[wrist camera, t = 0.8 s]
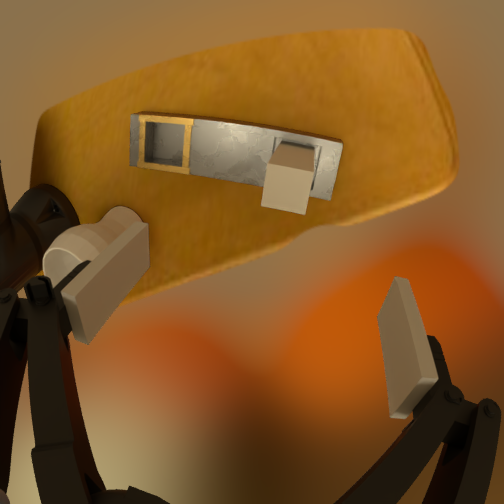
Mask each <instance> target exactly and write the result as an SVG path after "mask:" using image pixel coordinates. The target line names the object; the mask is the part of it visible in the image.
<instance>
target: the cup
mask: <svg viewBox="0 0 504 504" xmlns="http://www.w3.org/2000/svg"><path fill="white" fill-rule="evenodd" d="M136 221H138V222H142V220H141V218H140V217H139V216H138V215H137V214H136V213H135V212H134V211H133V210H131V209H129V208H127V207H123V206H117V207H114V208H112V209H111V210H110V211H109V212H108V213H107V214H106V215H105V216H104V217H103V218H102V219H101V221H99V222H97V223H96V224H82V225H78V226H75V227H72V228H69V229H67V230H66V231H64V232H63V233H62V234H60V235H59V236H58V237H57V238H56V239H55V240H54V241H53V243H52V244H51V245H50V247H49V248H48V250H47V251H46V252H45V254H44V257H43V271H44V275H45V276H47V277H49V278H50V279H51V282H52V286H53V288H54V287H55V286H56V285H57V284H58V283H59V282H60V281H61V280H62V279H63V278H64V277H65V276H67V274H69V273H70V272H72V270H73V269H74V268H75V267H76V266H77V265H78V264H80V263H82V262H84V261H86V260H90V261H92V260H94V259H95V258H96V257H97V256H98V255H99V254H100V253H101V252H102V251H103V250H104V249H105V248H107V247H108V246H109V245H110V244H111V243H112V242H113V241H114V240H115V239H116V238H118V237H119V236H120V235H121V234H122V233H123V232H124V231H125V230H127V229H128V228H129V227H130V226H131V225H132V224H133V223H135V222H136Z"/></svg>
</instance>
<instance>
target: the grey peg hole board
mask: <svg viewBox="0 0 504 504" xmlns="http://www.w3.org/2000/svg"><path fill="white" fill-rule="evenodd" d="M282 140H283V141H288V142H293V143H298V144H303V145H308V146H313V147H315V154H314V175H313V180H312V185H311V189H310V194H309V196H311V197H316V198H320V199H325V200H329V201H330V200H331V196H332V192H333V187H334V183H335V179H336V174H337V170H338V166H339V161H340V156H341V152H342V147H343V142H342V140H341V139H336V138H332V137H327V136H323V135H318V134H313V133H309V132H304V131H298V130H293V129H288V128H282V127H277V126H271V125H265V124H258V123H252V122H245V121H238V120H231V119H223V118H214V117H206V116H196V115H185V114H174V113H160V112H143V111H142V112H138V113H134V114H131V127H130V166H136V167H140V168H147V169H155V170H162V171H169V172H176V173H182V174H192V175H199V176H205V177H211V178H217V179H223V180H229V181H234V182H240V183H245V184H251V185H256V186H262V187H264V182H265V176H266V170H267V163H268V162H269V160H270V158H271V157H272V155H273V153H274V152H275V150H276V149H277V147H278V145H279V144H280V142H281V141H282Z"/></svg>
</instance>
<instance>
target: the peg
mask: <svg viewBox="0 0 504 504" xmlns="http://www.w3.org/2000/svg"><path fill="white" fill-rule="evenodd" d="M314 154H315V147H313V146H308V145H303V144H298V143H293V142H288V141H283V140H282V141H281V142H280V144H279V145H278V147H277V149H276V150H275V152H274V153H273V155H272V157H271V158H270V160H269V162H268V163H267V170H266V176H265V182H264V189H263V195H262V202H261V206H264V207H269V208H274V209H279V210H284V211H288V212H293V213H298V214H303V215H305V212H306V208H307V203H308V199H309V194H310V189H311V185H312V180H313V175H314Z"/></svg>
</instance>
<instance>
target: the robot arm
mask: <svg viewBox="0 0 504 504" xmlns="http://www.w3.org/2000/svg"><path fill="white" fill-rule="evenodd" d="M0 163H1V160H0ZM78 225H80V224H79V221H78V218H77V215H76V213H75V210H74V208H73V207H72V205H71V203H70V202H69V200H68V199H67V198H66V197H65V196H64V194H63V193H61V192H60V191H59V190H58V189H56V188H55V187H53V186H51V185H47V184H39V185H36V186H35V187H33V188H31V189H29V190H28V191H26V192H25V193H24V195H23V196H22V197H21V198H20V199H19V201H18V202H17V203H16V204H15V206H14V207H13V208H12V209H11V211H10V212H9V209H8V204H7V199H6V194H5V190H4V184H3V178H2V172H1V166H0V504H10V501H9V499H8V497H7V495H6V493H7V487H8V483H9V476H10V466H11V454H12V444H13V434H14V428H15V420H16V414H17V408H18V402H19V397H20V392H21V386H22V381H23V377H24V372H25V368H26V364H27V359H28V379H29V393H30V406H31V415H32V423H33V431H34V438H35V448H33V449H32V451H31V457H32V463H33V468H34V473H35V478H36V483H37V487H38V491H39V496H40V500H41V503H42V504H170V503H168V502H166V501H165V500H163V499H161V498H160V497H158V496H155V495H152V494H150V493H147V492H144V491H142V490H139V489H137V488H134V487H132V486H129V487H128V490H118V489H116V490H106V488H105V485H104V483H103V481H102V479H101V477H100V475H99V473H98V471H97V467H96V464H95V461H94V458H93V454H92V451H91V447H90V443H89V440H88V436H87V432H86V429H85V425H84V420H83V416H82V412H81V407H80V402H79V397H78V392H77V387H76V382H75V377H74V370H73V364H72V358H71V351H70V343H69V339H68V335H69V333H70V332H71V331H72V332H73V335H74V338H75V340H78V341H80V342H82V343H85V344H87V345H89V343H90V342H91V341H92V339H93V338H94V337H95V335H96V334H97V333H98V331H99V330H100V329H101V327H102V326H103V325H104V324H105V322H106V321H107V320H108V318H109V317H110V316H111V314H112V313H113V312H114V311H115V309H116V308H117V307H118V306H119V304H120V303H121V302H122V300H123V299H124V298H125V297H126V295H127V294H128V293H129V292H130V290H131V289H132V288H133V287H134V285H135V284H136V283H137V282H138V281H139V279H140V278H141V277H142V276H143V274H144V273H145V272H146V271H147V270H148V268H149V267H150V258H149V228H148V223H143V222H138V221H136V222H135V223H133V224H132V225H131V226H130V227H129V228H128V229H127V230H125V231H124V232H123V233H122V234H121V235H120V236H119V237H118V238H116V239H115V240H114V241H113V242H112V243H111V244H110V245H109V246H108V247H107V248H105V249H104V250H103V251H102V252H101V253H100V254H99V255H98V256H97V257H96V258H95V259H94V260H92V261H90V260H86V261H84V262H82V263H80V264H78V265H77V266H76V267H75V268H74V269H73V270H72V272H70V273H69V274H67V276H65V277H64V278H63V279H62V280H61V281H60V282H59V283H58V284H57V285H56V286H55V287H54V288H53V286H52V282H51V279H50V278H49V277H47V276H43V275H42V276H36V275H37V274H38V273H39V272H40V271H41V270H43V257H44V254H45V252H46V251H47V250H48V248H49V247H50V245H51V244H52V243H53V241H54V240H55V239H56V238H57V237H58V236H59V235H60V234H62V233H63V232H64V231H66V230H67V229H69V228H72V227H75V226H78ZM23 287H24V290H25V293H26V296H27V299H24V298H19V297H18V294H17V293H18V291H20V290H21V289H22V288H23ZM377 319H378V325H379V331H380V337H381V344H382V351H383V358H384V365H385V374H386V381H387V391H388V400H389V410H390V418H403V419H405V418H406V417H408V415H409V414H410V413H411V412H412V411H413V418H414V419H413V420H412V421H411V422H410V423H409V424H408V425H407V426H406V427H405V428H404V430H403V431H402V433H401V434H400V435H399V437H398V438H397V439H396V440H395V441H394V442H393V444H392V445H391V446H390V447H389V448H388V449H387V451H386V452H385V453H384V454H383V455H382V456H381V457H380V458H379V459H378V461H377V462H376V463H375V464H374V465H373V466H372V467H371V468H370V469H369V470H368V471H367V472H366V473H365V474H364V475H363V476H362V477H361V478H360V479H359V480H358V481H357V482H356V483H355V484H354V485H353V486H352V487H351V488H350V489H349V490H348V491H347V492H346V493H345V494H344V495H342V496H341V497H340V498H339V499H338V500H337V501H336V502H335V503H334V504H396V503H397V502H398V501H399V500H400V499H401V497H402V496H403V495H404V493H405V492H406V491H407V490H408V489H409V487H410V486H411V485H412V483H413V482H414V481H415V480H416V478H417V477H418V476H419V474H420V473H421V471H422V470H423V468H424V467H425V466H426V464H427V463H428V462H429V460H430V459H431V457H432V456H433V454H434V453H435V451H436V450H437V448H438V447H439V445H440V444H441V442H444V445H443V448H442V451H441V455H440V457H439V460H438V463H437V466H436V469H435V472H434V474H433V477H432V480H431V482H430V485H429V487H428V490H427V492H426V495H425V497H424V499H423V502H422V504H484V503H485V500H486V496H487V492H488V488H489V484H490V480H491V475H492V471H493V466H494V461H495V455H496V450H497V444H498V437H499V430H500V422H501V410H500V408H499V406H498V405H497V403H496V402H494V401H493V400H492V399H488V398H486V399H483V400H481V401H480V402H479V403H478V404H475V403H472V402H469V401H467V400H465V399H464V395H463V393H462V392H461V390H460V389H459V388H458V387H456V386H454V385H452V383H451V379H450V375H449V372H448V368H447V365H446V362H445V358H444V355H443V352H442V348H441V345H440V343H439V342H438V341H437V339H436V338H435V337H434V336H429V335H426V332H425V328H424V325H423V322H422V319H421V316H420V313H419V310H418V307H417V304H416V301H415V298H414V295H413V292H412V289H411V286H410V284H409V281H408V279H406V278H401V277H396V276H395V277H394V280H393V282H392V284H391V287H390V289H389V291H388V294H387V296H386V298H385V301H384V303H383V305H382V307H381V309H380V312H379V314H378V316H377Z"/></svg>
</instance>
